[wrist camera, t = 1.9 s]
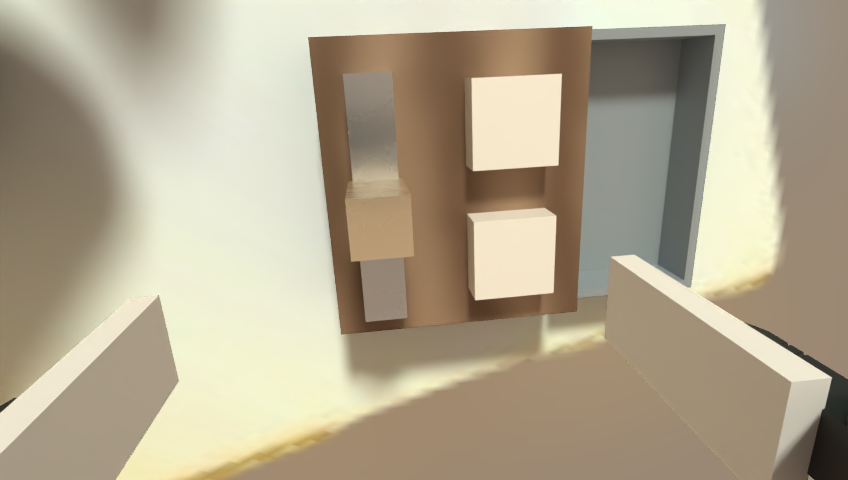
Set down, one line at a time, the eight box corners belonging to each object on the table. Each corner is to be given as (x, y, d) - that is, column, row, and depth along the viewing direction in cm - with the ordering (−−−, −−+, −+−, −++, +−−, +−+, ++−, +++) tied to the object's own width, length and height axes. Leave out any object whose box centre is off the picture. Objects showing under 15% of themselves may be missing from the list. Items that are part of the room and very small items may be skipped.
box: (549, 278, 39) (569, 298, 35) (557, 36, 34) (582, 29, 30) (659, 268, 40) (690, 287, 36) (685, 30, 34) (725, 24, 31)
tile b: (466, 165, 29) (473, 171, 27) (464, 78, 28) (471, 78, 26) (546, 160, 30) (558, 165, 28) (548, 74, 28) (561, 73, 26)
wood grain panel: (344, 296, 37) (341, 334, 32) (317, 45, 32) (308, 37, 26) (545, 278, 39) (576, 311, 33) (553, 36, 33) (592, 26, 28)
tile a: (468, 287, 32) (474, 300, 30) (467, 213, 30) (473, 222, 28) (542, 280, 32) (553, 293, 30) (544, 207, 31) (556, 215, 29)
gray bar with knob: (361, 304, 31) (361, 363, 25) (340, 75, 27) (332, 71, 20) (408, 300, 32) (419, 357, 25) (393, 72, 27) (403, 68, 21)
